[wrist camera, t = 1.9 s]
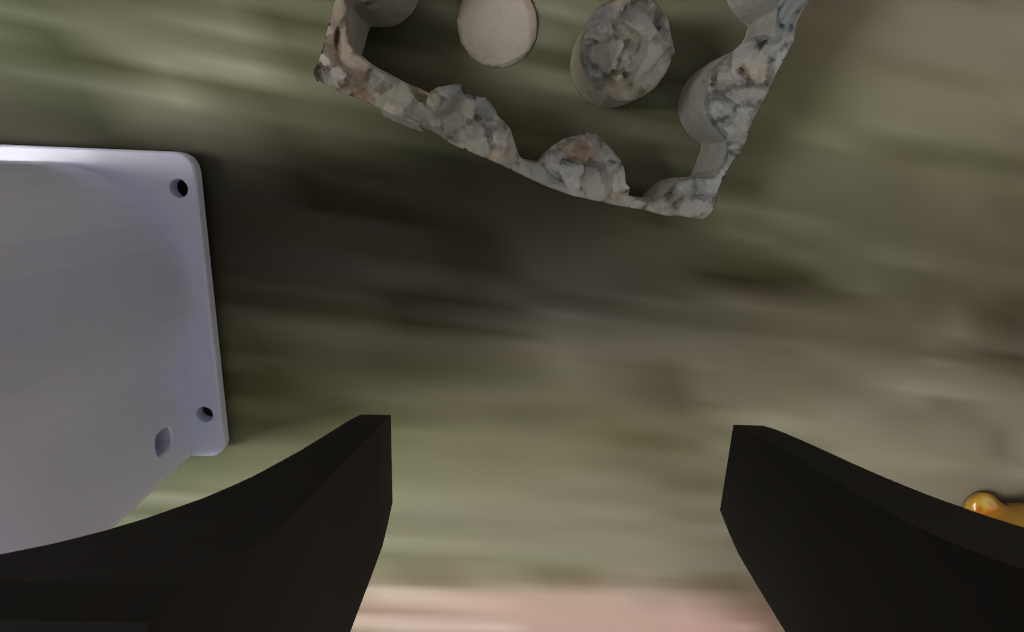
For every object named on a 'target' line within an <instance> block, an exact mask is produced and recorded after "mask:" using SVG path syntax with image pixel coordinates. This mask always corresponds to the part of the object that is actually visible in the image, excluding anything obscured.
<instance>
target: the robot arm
mask: <svg viewBox="0 0 1024 632" xmlns="http://www.w3.org/2000/svg"><path fill="white" fill-rule="evenodd" d="M180 180H183V181H184V182H185V183H186V184H187V187H188V194H187V195H186V196H185V197H184V196H182V195H181V194H180V193H179V192H178V189H177V184H178V182H179V181H180ZM203 407H207V408H209V409H210V410H212V413H213V417H211V416H208V415H206V414H205V413H204V411H203ZM228 442H229V434H228V424H227V415H226V405H225V395H224V386H223V376H222V367H221V357H220V347H219V338H218V328H217V319H216V309H215V299H214V290H213V280H212V271H211V261H210V251H209V242H208V232H207V223H206V213H205V203H204V194H203V184H202V175H201V169H200V166H199V163H198V162H197V161H196V159H195V158H194V157H192V156H191V155H189V154H187V153H183V152H169V151H144V150H120V149H96V148H71V147H47V146H23V145H0V632H350V631H351V628H352V626H353V623H354V620H355V618H356V615H357V612H358V610H359V607H360V604H361V602H362V599H363V596H364V594H365V591H366V589H367V586H368V583H369V581H370V578H371V575H372V573H373V570H374V567H375V565H376V562H377V559H378V556H379V554H380V551H381V548H382V545H383V541H384V537H385V533H386V529H387V525H388V520H389V516H390V511H391V506H392V457H391V415H359V416H357V417H355V418H353V419H351V420H350V421H348V422H346V423H345V424H343V425H341V426H340V427H338V428H336V429H335V430H333V431H332V432H330V433H328V434H327V435H325V436H324V437H322V438H320V439H319V440H317V441H315V442H314V443H312V444H311V445H309V446H307V447H306V448H304V449H302V450H301V451H299V452H297V453H295V454H293V455H292V456H290V457H288V458H286V459H284V460H283V461H281V462H279V463H277V464H275V465H274V466H272V467H270V468H268V469H266V470H264V471H263V472H261V473H259V474H257V475H255V476H253V477H251V478H248V479H246V480H244V481H242V482H240V483H238V484H236V485H233V486H231V487H229V488H226V489H224V490H222V491H219V492H217V493H215V494H213V495H210V496H208V497H205V498H203V499H200V500H197V501H194V502H191V503H189V504H186V505H183V506H180V507H177V508H174V509H172V510H169V511H166V512H163V513H160V514H157V515H155V516H152V517H149V518H146V519H143V520H139V521H136V522H133V523H129V524H126V525H122V526H119V527H116V528H113V527H114V526H115V525H116V524H118V523H119V522H120V521H121V520H122V519H123V518H124V517H125V516H126V515H127V514H128V513H129V512H131V511H132V510H133V509H134V508H135V507H136V506H137V505H138V504H139V503H140V502H141V501H142V500H144V499H145V498H146V497H147V496H148V495H149V494H150V493H151V492H152V491H153V490H154V489H155V488H157V487H158V486H159V485H160V484H161V483H162V482H163V481H164V480H165V479H166V478H167V477H168V476H169V475H171V474H172V473H173V472H174V471H175V470H176V469H177V468H178V467H179V466H180V465H181V464H182V463H184V462H185V461H186V460H187V459H188V458H189V457H190V456H214V455H217V454H219V453H221V452H222V451H223V450H224V449H225V448H226V446H227V445H228ZM720 511H721V513H722V516H723V519H724V521H725V524H726V526H727V529H728V531H729V534H730V536H731V538H732V540H733V543H734V545H735V547H736V549H737V552H738V554H739V555H740V557H741V559H742V560H743V562H744V564H745V566H746V567H747V569H748V571H749V572H750V574H751V576H752V577H753V579H754V581H755V583H756V584H757V586H758V588H759V589H760V591H761V593H762V594H763V596H764V597H765V599H766V601H767V602H768V604H769V606H770V607H771V609H772V611H773V612H774V614H775V616H776V617H777V619H778V621H779V622H780V624H781V625H782V627H783V629H784V630H785V632H1024V527H1021V526H1018V525H1014V524H1011V523H1008V522H1005V521H1002V520H998V519H995V518H992V517H989V516H986V515H983V514H980V513H977V512H974V511H971V510H968V509H966V508H963V507H960V506H957V505H954V504H951V503H948V502H945V501H942V500H940V499H937V498H934V497H932V496H929V495H926V494H924V493H921V492H919V491H916V490H914V489H911V488H909V487H906V486H904V485H902V484H899V483H897V482H894V481H892V480H889V479H887V478H885V477H882V476H880V475H878V474H875V473H873V472H871V471H868V470H866V469H864V468H862V467H859V466H857V465H855V464H853V463H850V462H848V461H846V460H844V459H842V458H839V457H837V456H835V455H833V454H831V453H828V452H826V451H824V450H822V449H820V448H817V447H815V446H813V445H811V444H808V443H806V442H804V441H802V440H800V439H797V438H795V437H793V436H790V435H788V434H785V433H783V432H780V431H778V430H775V429H772V428H769V427H765V426H755V425H733V432H732V438H731V444H730V451H729V457H728V463H727V470H726V476H725V482H724V489H723V495H722V501H721V508H720Z"/></svg>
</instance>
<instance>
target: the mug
mask: <svg viewBox="0 0 1024 632" xmlns="http://www.w3.org/2000/svg"><path fill="white" fill-rule="evenodd" d="M964 508H966V509H968V510H971V511H974V512H977V513H980V514H983V515H986V516H989V517H992V518H995V519H998V520H1002V521H1005V522H1008V523H1011V524H1014V525H1018V526H1021V527H1024V503H1001V502H1000V501H999V500H998V499H996V498H995V497H994V496H993V495H992V494H989V493H985V492H977V493H974V494H972V495H971V496H970V497H968V498H967V500H966V501H965V504H964Z"/></svg>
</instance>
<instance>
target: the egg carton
mask: <svg viewBox="0 0 1024 632" xmlns="http://www.w3.org/2000/svg"><path fill="white" fill-rule="evenodd" d="M418 1H419V0H336V1H335V4H334V7H333V10H332V14H331V18H330V22H329V26H328V30H327V34H326V38H325V43H324V46H323V50H322V53H321V56H320V60H319V63H318V65H317V66H316V68H315V70H314V76H315V78H316V80H317V82H318V81H319V80H320V81H321V82H323V83H325V84H327V85H329V86H331V87H333V88H335V89H336V90H338V91H339V92H341V93H344V94H347V95H350V96H353V97H356V98H358V99H361V100H363V101H365V102H367V103H370V104H372V105H374V106H376V107H378V108H380V109H381V111H382V114H383V116H384V117H385V118H389V119H390V120H393V121H395V122H398V123H401V124H403V125H405V126H407V127H409V128H412V129H415V130H418V131H421V132H422V130H423V128H425V129H427V130H429V131H431V132H434V133H436V134H438V135H440V136H441V137H442V138H443V139H444V140H445V141H447V142H449V143H451V144H453V145H455V146H457V147H460V148H462V149H465V150H468V151H470V152H472V153H474V154H477V155H479V156H481V157H484V158H487V159H490V160H492V161H494V162H496V163H498V164H501V165H503V166H505V167H507V168H509V169H511V170H513V171H515V172H517V173H519V174H521V175H523V176H525V177H527V178H530V179H532V180H534V181H536V182H538V183H540V184H543V185H545V186H547V187H550V188H553V189H555V190H558V191H561V192H564V193H566V194H569V195H572V196H577V197H581V198H586V199H591V200H595V201H600V202H604V203H609V204H613V205H618V206H624V207H629V208H636V209H642V210H647V211H651V212H654V213H657V214H661V215H667V216H673V215H680V216H685V217H693V218H698V219H705V218H707V217H708V216H709V215H710V213H711V212H712V210H713V208H714V205H715V203H716V201H717V196H716V194H717V191H718V188H719V186H720V184H721V182H722V180H723V178H724V176H725V173H726V171H727V170H728V168H729V166H730V165H731V163H732V161H733V160H734V159H735V158H736V157H737V156H738V155H739V153H740V152H741V150H742V148H743V146H744V145H745V143H746V140H747V136H748V132H749V128H750V126H751V124H752V121H753V119H754V117H755V115H756V113H757V111H758V110H759V108H760V106H761V104H762V102H763V101H764V99H765V98H766V96H767V94H768V93H769V90H770V87H771V85H772V82H773V80H774V77H775V75H776V73H777V71H778V69H779V67H780V65H781V64H782V62H783V60H784V58H785V56H786V54H787V52H788V50H789V48H790V47H791V45H792V43H793V42H794V35H795V30H796V24H797V22H798V19H799V17H800V15H801V13H802V11H803V10H804V8H805V6H806V5H807V3H808V1H809V0H727V3H728V5H729V7H730V9H731V10H732V12H733V13H734V15H735V16H736V17H737V18H738V19H739V20H740V21H741V22H742V23H743V24H745V25H746V26H747V32H746V35H745V37H744V39H743V41H742V43H741V44H740V45H739V46H738V47H737V48H736V49H735V50H733V51H732V52H730V53H728V54H725V55H723V56H722V57H720V58H718V59H716V60H714V61H712V62H710V63H708V64H706V65H704V66H703V67H702V68H700V69H699V70H697V71H696V72H695V73H693V74H692V75H691V77H690V78H689V79H688V80H687V82H686V83H685V84H684V86H683V88H682V90H681V93H680V96H679V103H678V112H679V118H680V121H681V124H682V126H683V128H684V130H685V131H686V132H687V133H688V134H689V136H690V137H692V138H693V139H694V140H696V141H697V142H698V143H700V145H701V150H700V152H699V155H698V158H697V160H696V163H695V166H694V168H693V170H692V172H691V174H690V176H689V177H671V178H667V179H663V180H660V181H658V182H656V183H655V184H654V185H652V186H651V187H650V188H649V189H648V190H647V191H646V192H645V194H644V195H643V196H642V197H634V196H630V195H628V194H629V191H630V188H629V187H628V185H627V184H626V178H625V171H624V167H623V163H622V161H621V160H620V159H619V157H618V156H617V155H616V154H615V152H614V151H613V150H612V149H611V147H610V146H609V145H607V144H606V143H605V142H603V141H602V139H601V138H600V136H599V135H596V134H592V133H588V132H584V133H582V134H580V135H576V136H572V137H569V138H565V139H562V140H560V141H559V142H557V143H555V144H554V145H552V146H551V147H550V148H548V149H547V150H546V151H545V152H544V153H543V154H542V155H541V156H540V157H539V159H538V160H537V161H532V160H527V159H522V158H521V157H520V156H519V154H518V151H517V148H516V145H515V142H514V139H513V136H512V133H511V129H510V128H509V126H508V125H507V124H506V123H505V121H502V120H501V119H500V118H499V117H498V116H497V113H496V110H495V108H494V107H493V106H492V105H491V103H490V102H489V101H488V100H487V99H486V98H485V97H481V96H474V95H470V94H469V93H468V91H467V90H466V89H465V87H464V86H463V85H462V84H452V85H447V86H442V87H437V88H435V89H434V90H432V91H430V92H429V93H428V92H426V91H424V90H422V89H419V88H417V87H415V86H412V85H410V84H408V83H406V82H404V81H402V80H400V79H398V78H396V77H394V76H392V75H391V74H389V73H387V72H385V71H383V70H381V69H379V68H377V67H376V66H374V65H373V64H372V63H370V62H369V61H368V60H366V59H365V58H364V57H362V53H363V50H364V47H365V42H366V38H367V34H368V32H369V29H370V27H391V26H394V25H398V24H399V23H401V22H403V21H404V20H405V19H407V18H408V17H409V16H410V15H411V14H412V13H413V11H414V10H415V8H416V6H417V4H418ZM456 24H457V27H458V34H459V38H460V42H461V45H462V46H463V47H464V48H465V50H466V52H467V53H468V55H469V56H470V57H471V58H472V59H474V60H475V61H477V62H478V63H480V64H481V65H483V66H492V67H493V68H496V67H499V68H505V67H508V66H511V65H514V64H515V63H517V62H518V61H520V60H522V59H523V58H524V57H525V56H526V55H527V54H528V53H529V51H530V50H531V48H532V46H533V44H534V42H535V40H536V34H537V27H538V24H537V18H536V11H535V8H534V6H533V4H532V2H531V0H462V1H461V4H460V6H459V9H458V14H457V23H456ZM674 52H675V49H674V45H673V40H672V36H671V30H670V26H669V20H668V17H667V16H666V14H665V13H664V12H663V10H662V9H661V8H660V6H659V5H658V4H657V3H656V2H655V1H654V0H612V1H609V2H607V3H605V4H603V5H602V6H600V7H598V8H597V9H596V11H595V12H594V13H593V14H592V15H591V17H590V19H589V20H588V22H587V24H586V25H585V27H584V29H583V30H582V32H581V34H580V36H579V37H578V39H577V41H576V43H575V44H574V48H573V52H572V56H571V61H570V74H571V78H572V81H573V83H574V85H575V87H576V89H577V90H578V92H579V93H580V94H581V95H582V96H583V97H584V98H585V99H586V101H588V102H589V103H591V104H593V105H596V106H599V107H603V108H615V107H619V106H623V105H626V104H628V103H630V102H631V101H634V100H636V99H638V98H640V97H642V96H644V95H645V94H647V95H648V92H650V91H651V90H652V89H654V88H655V87H656V86H657V84H658V83H659V82H660V80H661V79H662V78H663V76H664V74H665V73H666V71H667V70H668V67H669V65H670V62H671V60H672V57H673V55H674ZM646 102H647V101H646Z"/></svg>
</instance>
